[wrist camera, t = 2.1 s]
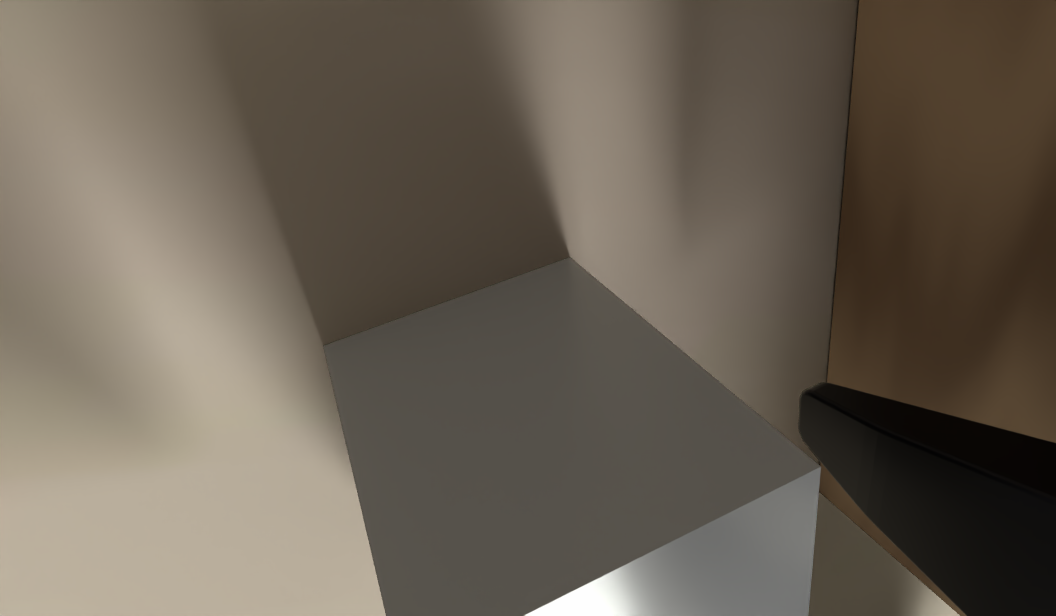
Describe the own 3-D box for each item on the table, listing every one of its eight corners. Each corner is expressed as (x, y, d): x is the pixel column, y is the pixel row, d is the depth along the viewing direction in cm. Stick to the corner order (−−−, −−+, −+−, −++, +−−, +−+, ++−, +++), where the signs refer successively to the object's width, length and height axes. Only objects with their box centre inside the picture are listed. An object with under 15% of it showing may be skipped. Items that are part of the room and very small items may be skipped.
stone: (598, 439, 14) (801, 696, 9) (400, 527, 13) (504, 876, 8) (569, 256, 11) (821, 466, 6) (322, 345, 10) (400, 676, 5)
